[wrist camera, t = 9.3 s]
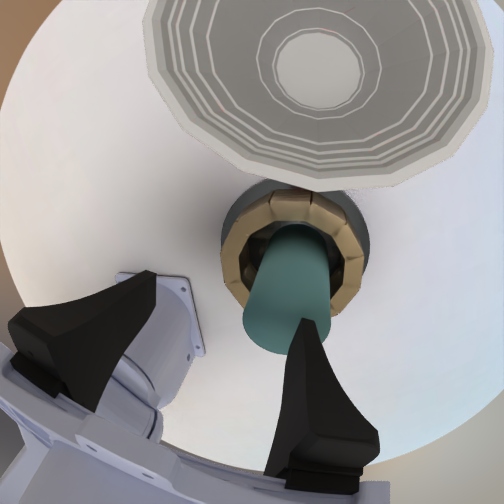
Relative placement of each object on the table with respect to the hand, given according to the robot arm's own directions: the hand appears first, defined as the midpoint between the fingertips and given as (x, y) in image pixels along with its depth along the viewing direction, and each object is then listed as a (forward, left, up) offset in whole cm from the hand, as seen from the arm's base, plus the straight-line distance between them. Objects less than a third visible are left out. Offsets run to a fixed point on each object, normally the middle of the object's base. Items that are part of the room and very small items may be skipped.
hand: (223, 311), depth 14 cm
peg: (-1, -3, -9) cm, 9 cm away
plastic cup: (+12, -5, -10) cm, 16 cm away
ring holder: (-1, -3, -9) cm, 10 cm away
